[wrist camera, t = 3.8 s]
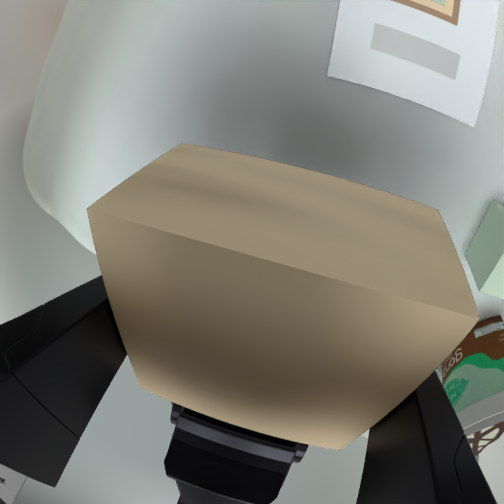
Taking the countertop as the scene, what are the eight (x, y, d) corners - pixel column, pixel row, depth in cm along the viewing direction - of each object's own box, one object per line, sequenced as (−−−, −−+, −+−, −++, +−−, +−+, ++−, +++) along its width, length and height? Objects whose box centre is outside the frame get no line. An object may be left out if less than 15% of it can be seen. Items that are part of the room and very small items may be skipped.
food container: (442, 308, 21) (457, 423, 13) (505, 302, 18) (534, 407, 10) (421, 387, 27) (419, 472, 19) (470, 382, 25) (476, 464, 17)
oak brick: (352, 362, 10) (339, 450, 8) (185, 313, 11) (141, 388, 9) (438, 209, 6) (480, 319, 4) (181, 143, 7) (86, 208, 5)
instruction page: (473, 127, 13) (475, 128, 13) (327, 75, 14) (326, 76, 14) (499, -38, 5) (501, -39, 5) (352, -94, 7) (352, -96, 6)
